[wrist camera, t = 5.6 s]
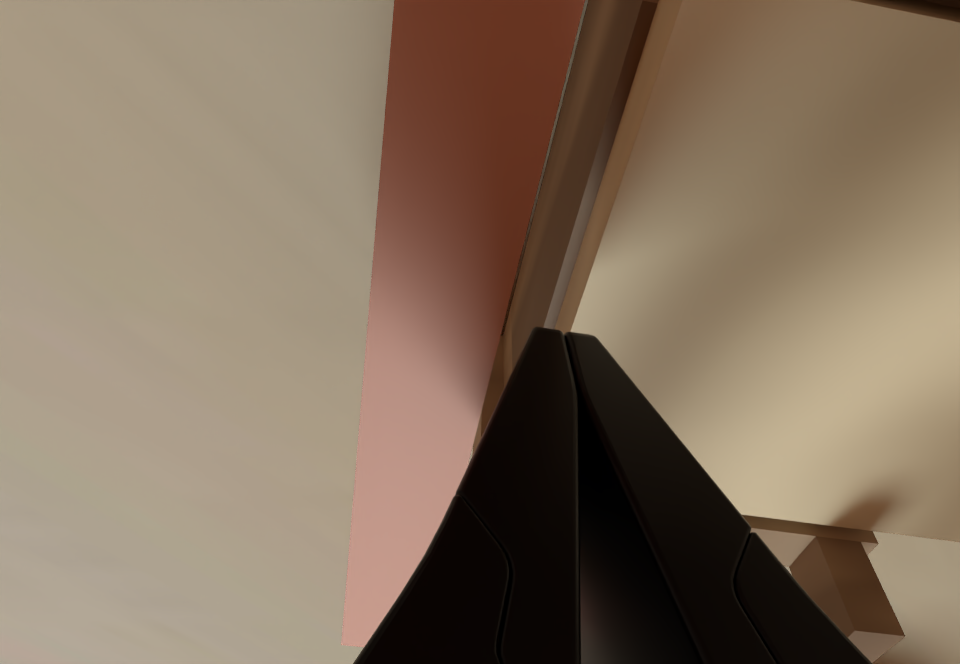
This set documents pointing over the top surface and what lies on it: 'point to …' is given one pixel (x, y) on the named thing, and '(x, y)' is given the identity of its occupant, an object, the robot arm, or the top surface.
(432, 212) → the bar
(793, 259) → the lid
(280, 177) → the top surface
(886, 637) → the toolbox
